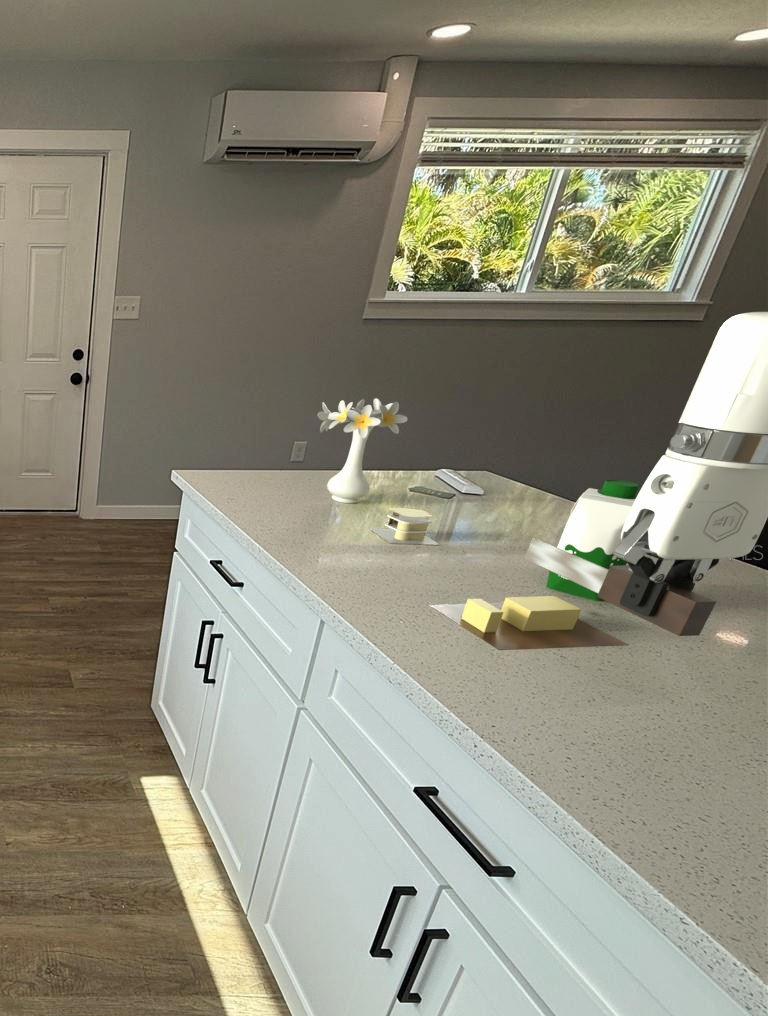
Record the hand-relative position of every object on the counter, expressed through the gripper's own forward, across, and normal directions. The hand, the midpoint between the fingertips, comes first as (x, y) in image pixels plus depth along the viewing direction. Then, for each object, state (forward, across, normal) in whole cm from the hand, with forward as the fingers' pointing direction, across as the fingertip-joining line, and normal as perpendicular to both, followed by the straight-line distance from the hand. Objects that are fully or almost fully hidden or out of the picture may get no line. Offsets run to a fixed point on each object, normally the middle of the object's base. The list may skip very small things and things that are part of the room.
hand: (648, 608), depth 70 cm
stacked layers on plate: (+17, +21, +64) cm, 70 cm away
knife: (+1, 0, +6) cm, 6 cm away
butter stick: (+16, +14, +24) cm, 32 cm away
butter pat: (+16, +5, +24) cm, 29 cm away
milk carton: (+17, +32, +35) cm, 51 cm away
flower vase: (+17, +23, +89) cm, 94 cm away
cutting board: (+17, +12, +24) cm, 32 cm away
